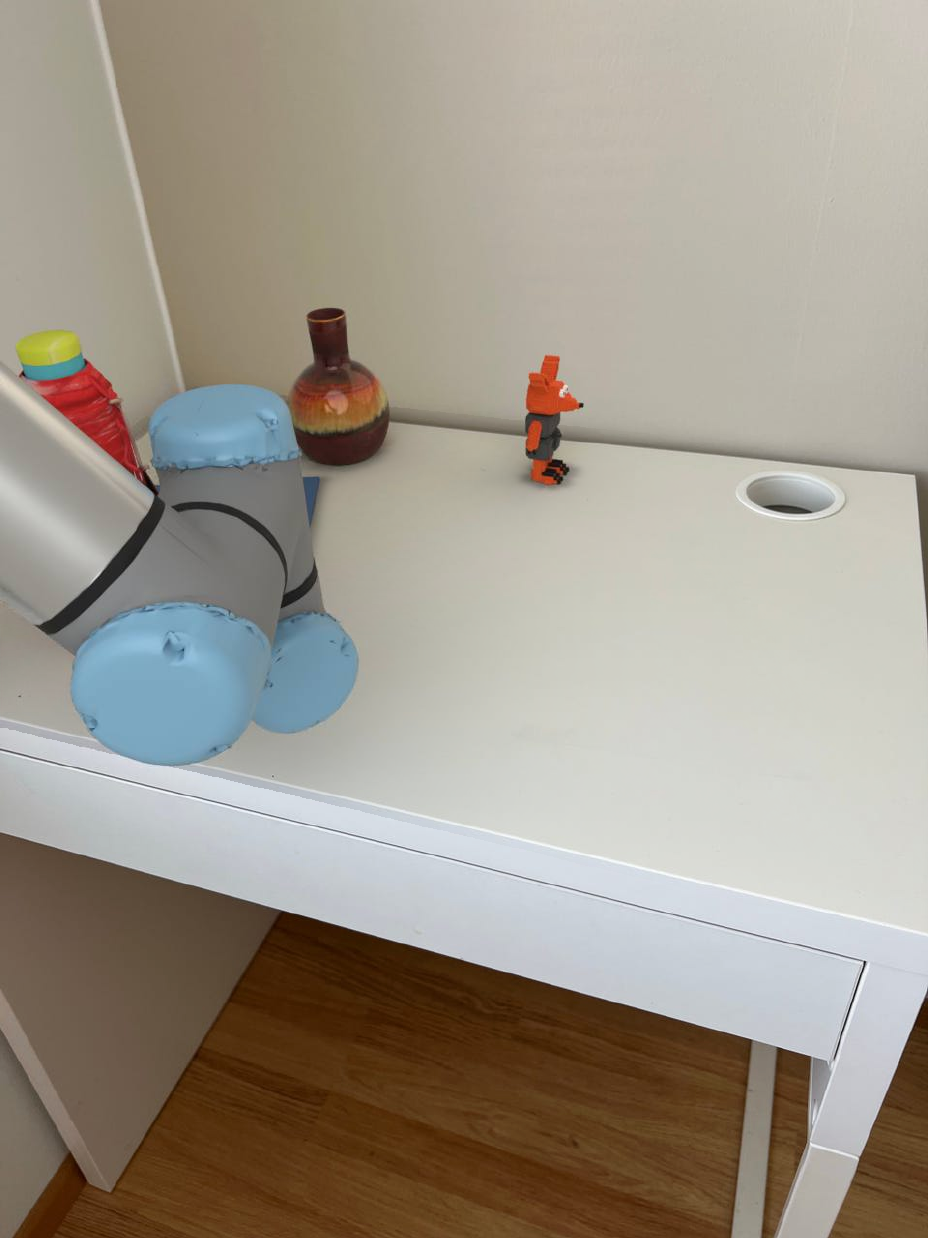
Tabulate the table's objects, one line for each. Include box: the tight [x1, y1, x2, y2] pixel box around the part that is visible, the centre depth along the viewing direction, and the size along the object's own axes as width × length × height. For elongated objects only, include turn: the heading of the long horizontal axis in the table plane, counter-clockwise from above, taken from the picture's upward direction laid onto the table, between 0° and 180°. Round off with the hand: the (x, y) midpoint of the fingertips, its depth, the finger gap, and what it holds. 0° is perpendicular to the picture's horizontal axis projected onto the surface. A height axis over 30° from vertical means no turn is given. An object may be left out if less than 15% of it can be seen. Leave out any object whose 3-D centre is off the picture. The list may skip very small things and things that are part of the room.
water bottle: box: [15, 329, 159, 496], centre depth 80 cm, size 12×8×25 cm, turn 80°
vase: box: [286, 307, 390, 466], centre depth 108 cm, size 11×11×15 cm
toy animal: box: [524, 354, 584, 486], centre depth 101 cm, size 8×6×12 cm
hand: (93, 468), depth 82 cm, fingers open, 13 cm apart
